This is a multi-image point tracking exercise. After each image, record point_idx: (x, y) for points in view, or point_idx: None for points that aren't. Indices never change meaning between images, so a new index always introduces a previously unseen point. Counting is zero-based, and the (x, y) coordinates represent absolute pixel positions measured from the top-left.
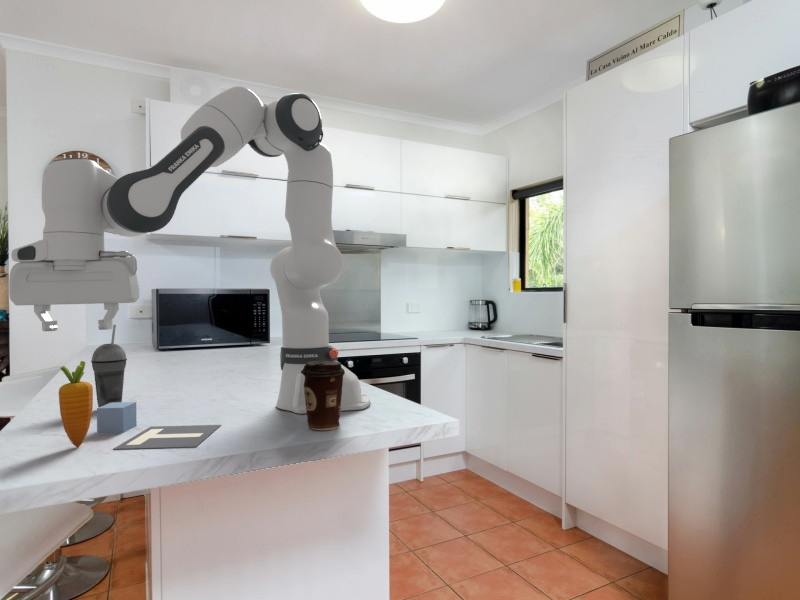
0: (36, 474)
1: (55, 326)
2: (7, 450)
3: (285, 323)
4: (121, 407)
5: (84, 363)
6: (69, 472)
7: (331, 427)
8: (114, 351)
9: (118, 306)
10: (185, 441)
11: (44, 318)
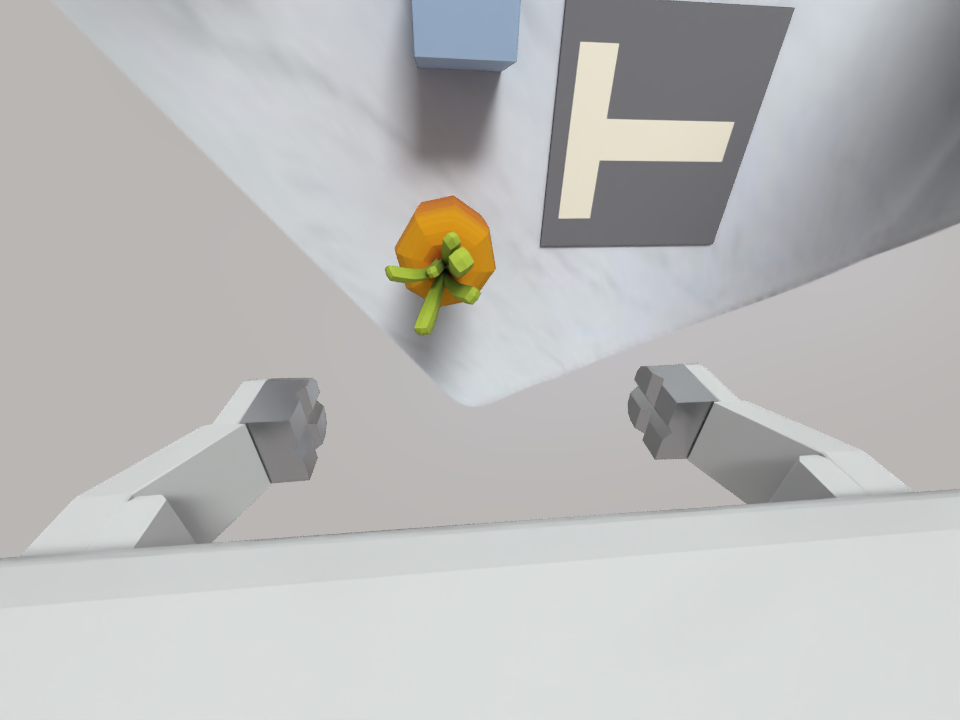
0: (469, 366)
1: (307, 404)
2: (283, 228)
3: None
4: (506, 52)
5: (472, 265)
6: (518, 360)
7: None
8: None
9: (890, 474)
10: (690, 202)
11: (249, 499)
